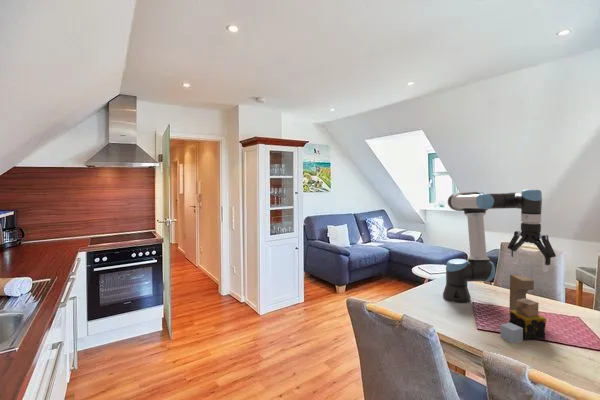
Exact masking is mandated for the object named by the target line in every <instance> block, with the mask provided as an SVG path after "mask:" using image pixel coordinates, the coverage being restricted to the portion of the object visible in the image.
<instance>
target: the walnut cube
mask: <svg viewBox="0 0 600 400" xmlns="http://www.w3.org/2000/svg"><path fill="white" fill-rule="evenodd" d="M516 313H518V314H521V315H523V316H526V317H528V318H531V317H535V316H538V314H539V302H537V301H534V300H532V299H528V298H527V297H526V298H524V299H519V300H516Z"/></svg>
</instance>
